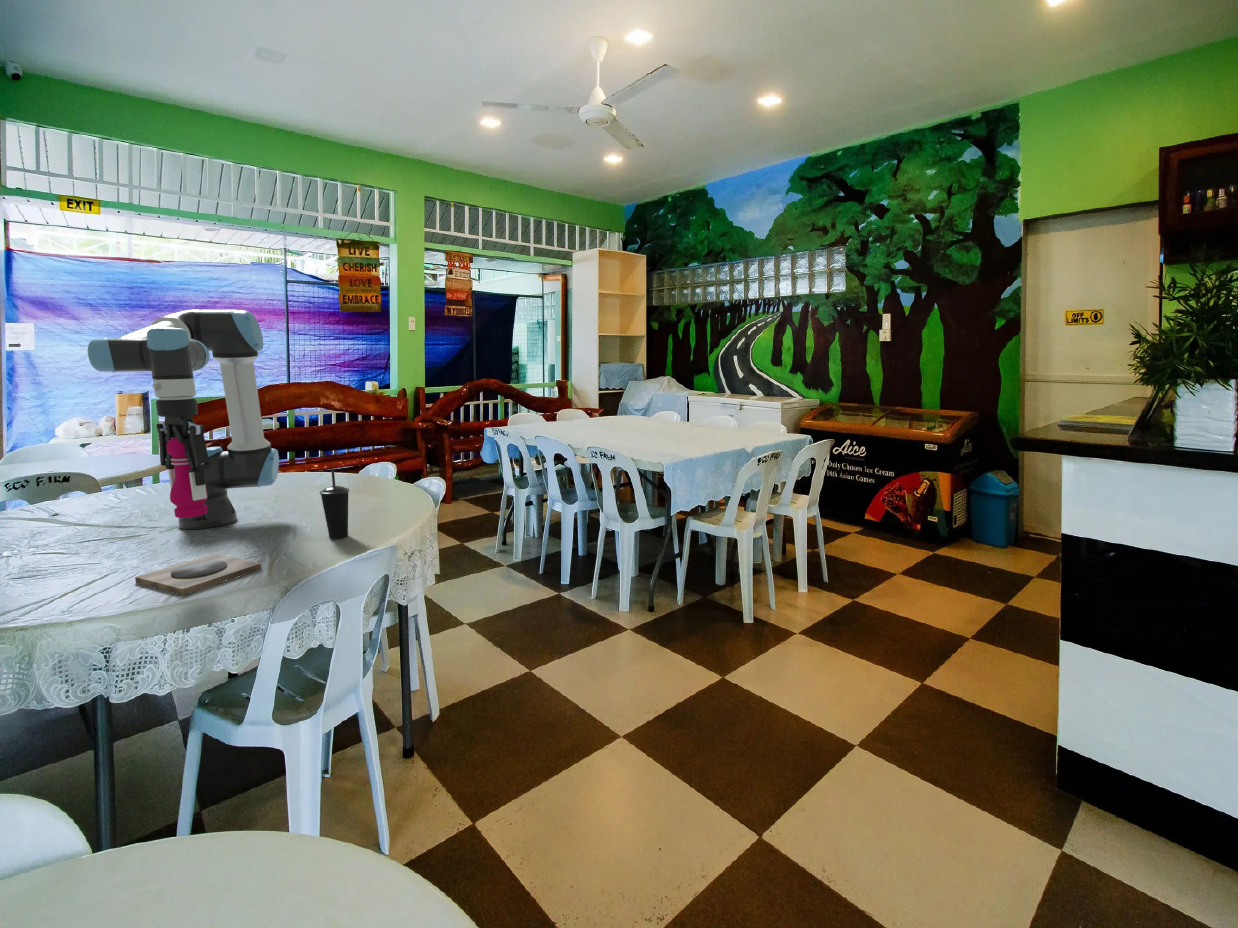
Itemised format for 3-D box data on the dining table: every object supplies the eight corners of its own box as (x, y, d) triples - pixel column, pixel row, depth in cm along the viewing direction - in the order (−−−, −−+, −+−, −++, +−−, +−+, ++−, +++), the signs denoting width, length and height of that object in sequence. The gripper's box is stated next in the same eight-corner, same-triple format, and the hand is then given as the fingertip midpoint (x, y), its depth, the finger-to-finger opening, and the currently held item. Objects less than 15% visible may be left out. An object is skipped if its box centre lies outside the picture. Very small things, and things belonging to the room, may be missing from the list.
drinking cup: (334, 542, 171) (328, 472, 167) (318, 538, 175) (311, 469, 171) (358, 535, 177) (353, 467, 173) (342, 531, 181) (336, 465, 177)
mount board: (135, 583, 141) (134, 574, 141) (215, 559, 157) (214, 551, 157) (183, 595, 134) (182, 586, 133) (261, 569, 150) (260, 561, 149)
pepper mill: (202, 509, 147) (191, 426, 144) (215, 513, 143) (205, 428, 140) (167, 515, 142) (155, 429, 138) (180, 520, 138) (168, 431, 134)
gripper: (131, 398, 139) (146, 497, 143) (185, 400, 130) (199, 505, 134) (167, 396, 145) (180, 490, 149) (221, 398, 137) (233, 498, 141)
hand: (189, 497), depth 142 cm, fingers closed on pepper mill, 7 cm apart
